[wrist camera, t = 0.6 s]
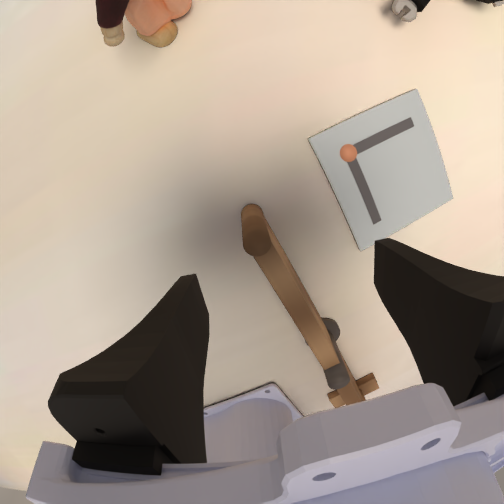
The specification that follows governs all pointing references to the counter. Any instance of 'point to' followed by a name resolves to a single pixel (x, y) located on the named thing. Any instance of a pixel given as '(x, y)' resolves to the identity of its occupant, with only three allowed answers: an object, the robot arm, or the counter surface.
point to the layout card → (384, 167)
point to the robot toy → (422, 7)
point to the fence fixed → (354, 388)
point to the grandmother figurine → (141, 19)
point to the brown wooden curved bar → (292, 293)
